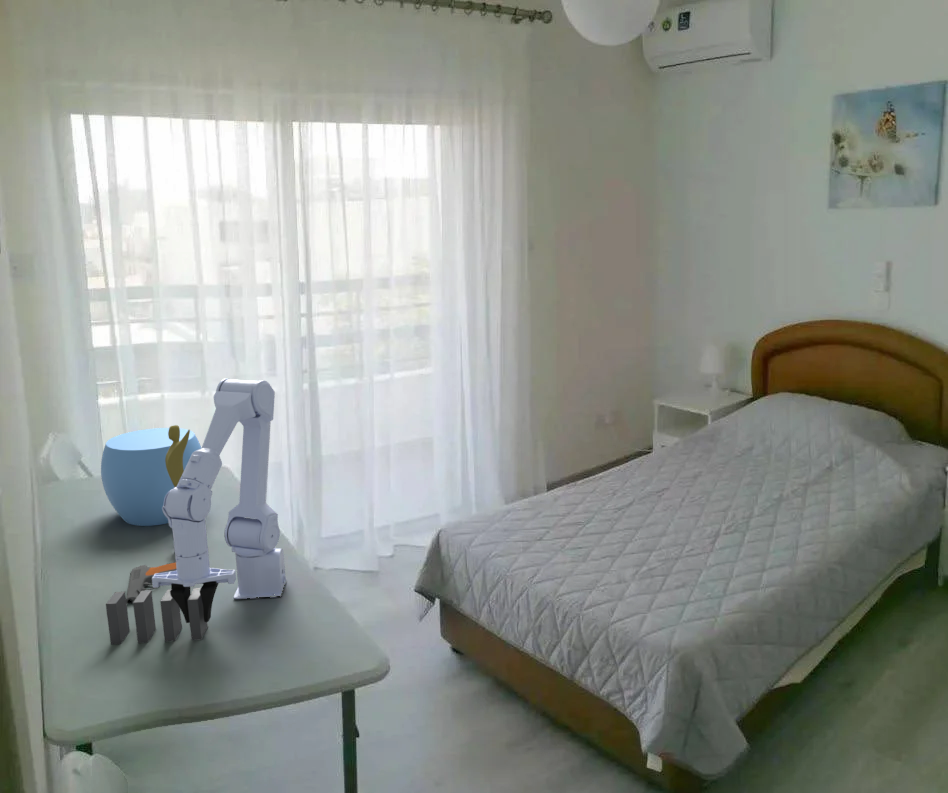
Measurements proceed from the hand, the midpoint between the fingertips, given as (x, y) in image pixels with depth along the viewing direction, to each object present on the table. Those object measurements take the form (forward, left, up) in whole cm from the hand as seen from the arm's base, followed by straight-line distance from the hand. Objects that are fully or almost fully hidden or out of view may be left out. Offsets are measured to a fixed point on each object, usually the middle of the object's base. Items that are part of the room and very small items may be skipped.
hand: (198, 619), depth 154 cm
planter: (+27, -66, -3) cm, 71 cm away
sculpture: (+12, -40, -3) cm, 42 cm away
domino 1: (+10, 0, -3) cm, 10 cm away
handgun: (+14, -23, -3) cm, 27 cm away
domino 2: (+5, 0, -3) cm, 6 cm away
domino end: (+14, 0, -3) cm, 15 cm away
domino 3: (0, 0, -3) cm, 3 cm away
